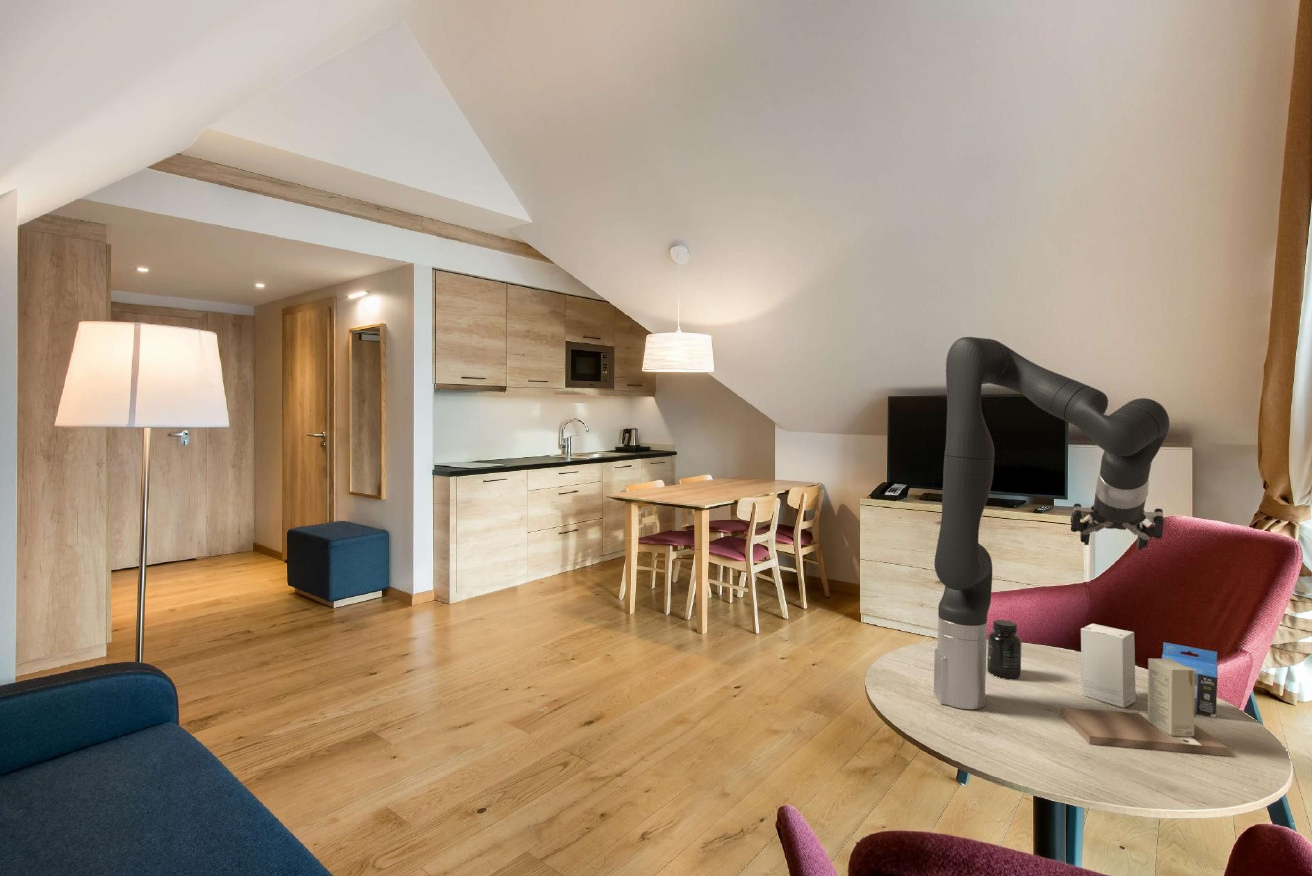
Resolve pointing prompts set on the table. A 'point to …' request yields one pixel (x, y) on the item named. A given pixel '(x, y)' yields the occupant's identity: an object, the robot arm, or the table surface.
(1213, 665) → the label tape cartridge
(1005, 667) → the supplement bottle
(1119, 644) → the skincare box
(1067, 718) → the subfloor panel
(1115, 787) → the table surface
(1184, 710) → the skincare box
